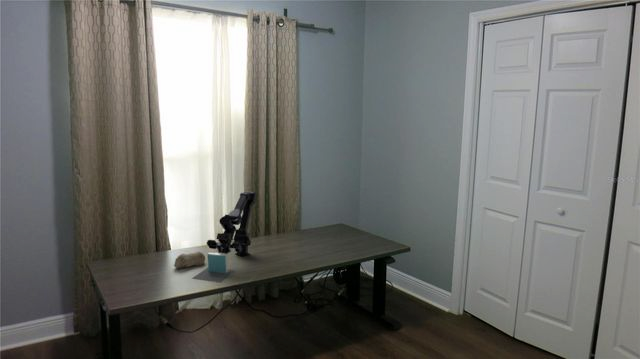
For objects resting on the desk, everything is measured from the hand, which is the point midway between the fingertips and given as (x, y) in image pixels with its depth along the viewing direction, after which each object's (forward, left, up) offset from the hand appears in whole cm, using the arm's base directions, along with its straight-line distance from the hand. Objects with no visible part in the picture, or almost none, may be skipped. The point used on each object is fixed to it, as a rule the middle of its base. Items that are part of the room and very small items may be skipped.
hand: (219, 259), depth 237 cm
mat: (+5, +2, -7) cm, 9 cm away
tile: (+1, 0, -6) cm, 6 cm away
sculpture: (+4, -18, -7) cm, 20 cm away
